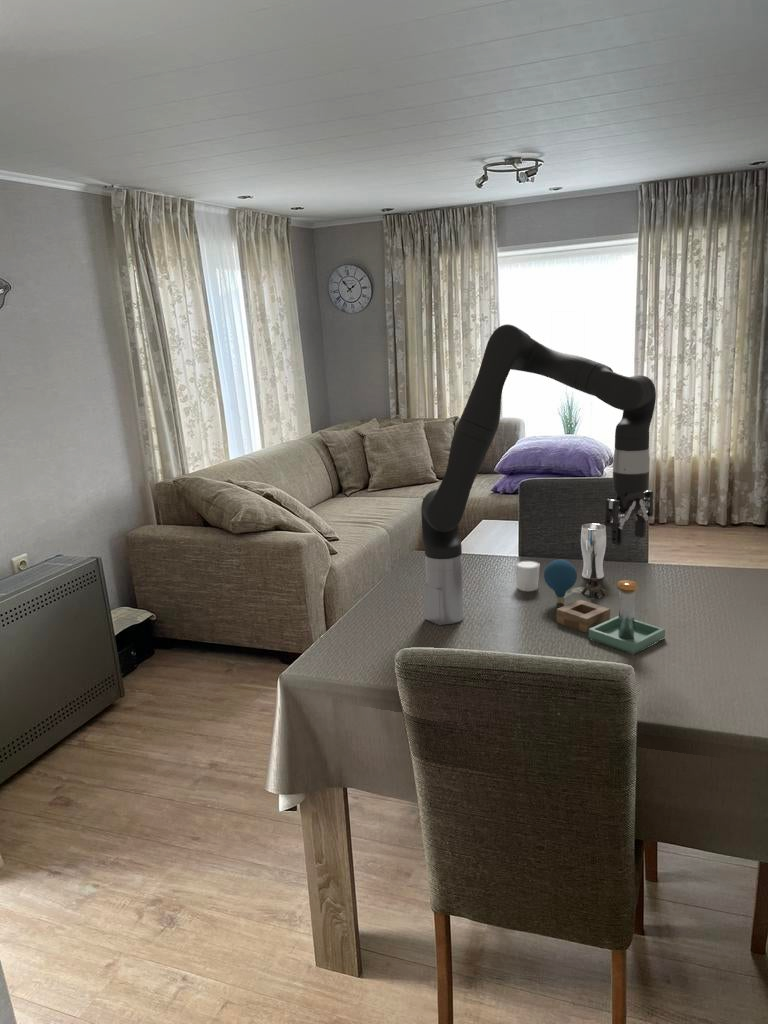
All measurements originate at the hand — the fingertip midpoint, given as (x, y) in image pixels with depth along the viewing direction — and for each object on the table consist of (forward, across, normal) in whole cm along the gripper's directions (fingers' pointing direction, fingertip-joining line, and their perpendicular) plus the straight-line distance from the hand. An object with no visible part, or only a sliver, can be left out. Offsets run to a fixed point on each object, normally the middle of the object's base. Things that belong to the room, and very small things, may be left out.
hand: (628, 540), depth 162 cm
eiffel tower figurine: (+25, +18, +23) cm, 38 cm away
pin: (+23, 0, 0) cm, 23 cm away
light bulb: (+24, +7, +25) cm, 35 cm away
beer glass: (+24, +30, +32) cm, 50 cm away
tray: (+24, 0, 0) cm, 24 cm away
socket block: (+24, +1, +13) cm, 27 cm away
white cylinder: (+24, +10, +39) cm, 47 cm away
